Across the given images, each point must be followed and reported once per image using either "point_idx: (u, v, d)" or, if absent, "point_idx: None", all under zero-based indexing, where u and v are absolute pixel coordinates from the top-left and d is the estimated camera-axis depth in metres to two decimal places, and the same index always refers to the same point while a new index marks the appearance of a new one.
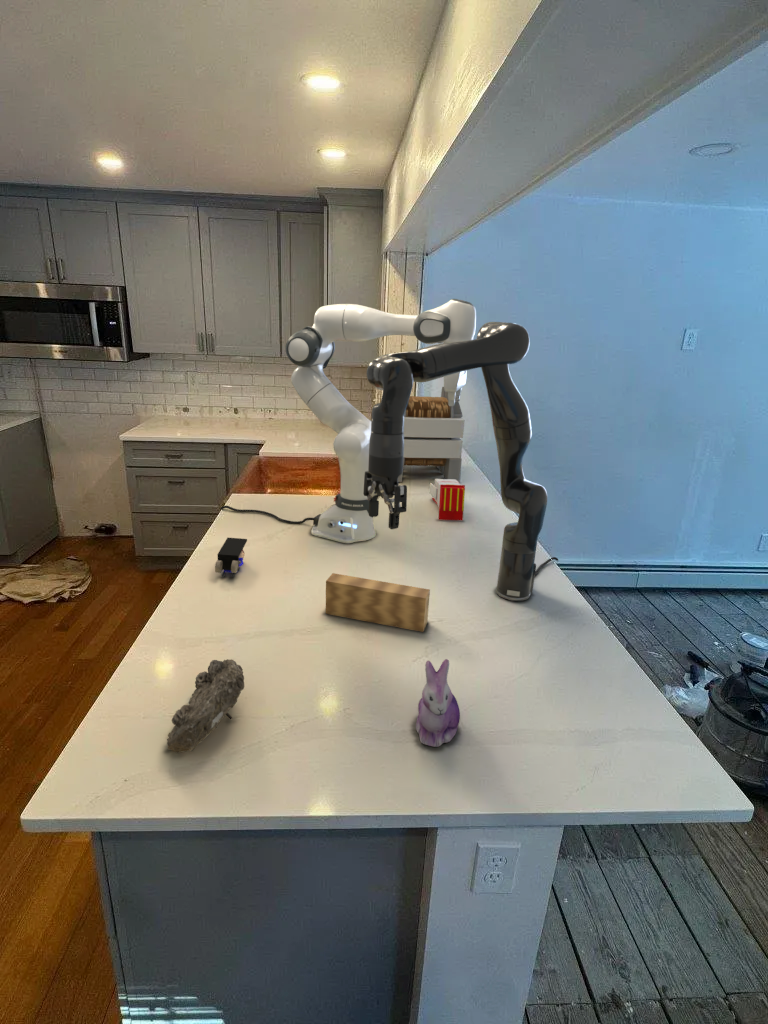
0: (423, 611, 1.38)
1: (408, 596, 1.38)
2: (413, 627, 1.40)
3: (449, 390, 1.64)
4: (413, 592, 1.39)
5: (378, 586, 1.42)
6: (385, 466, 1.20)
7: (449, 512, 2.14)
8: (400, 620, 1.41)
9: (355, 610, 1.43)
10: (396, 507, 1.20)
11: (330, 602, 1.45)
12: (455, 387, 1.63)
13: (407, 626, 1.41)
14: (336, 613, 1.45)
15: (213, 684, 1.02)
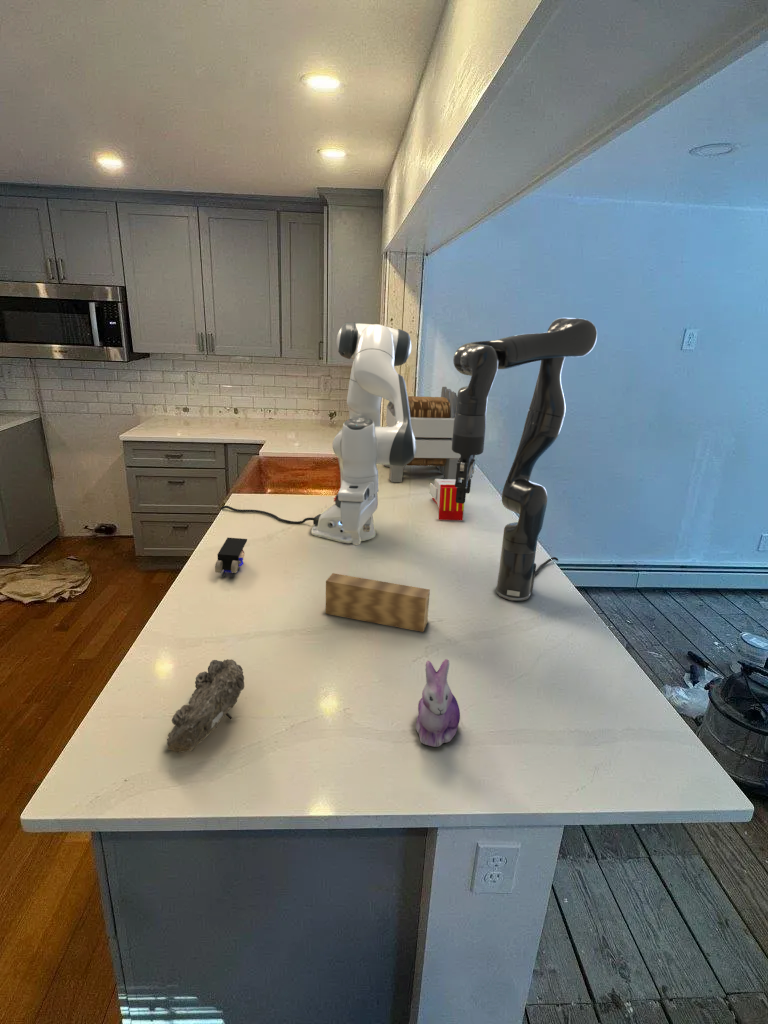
0: (423, 611, 1.38)
1: (408, 596, 1.38)
2: (413, 627, 1.40)
3: (349, 531, 1.33)
4: (413, 592, 1.39)
5: (378, 586, 1.42)
6: (457, 443, 1.32)
7: (449, 512, 2.14)
8: (400, 620, 1.41)
9: (355, 610, 1.43)
10: (455, 481, 1.31)
11: (330, 602, 1.45)
12: (356, 528, 1.33)
13: (407, 626, 1.41)
14: (336, 613, 1.45)
15: (213, 684, 1.02)
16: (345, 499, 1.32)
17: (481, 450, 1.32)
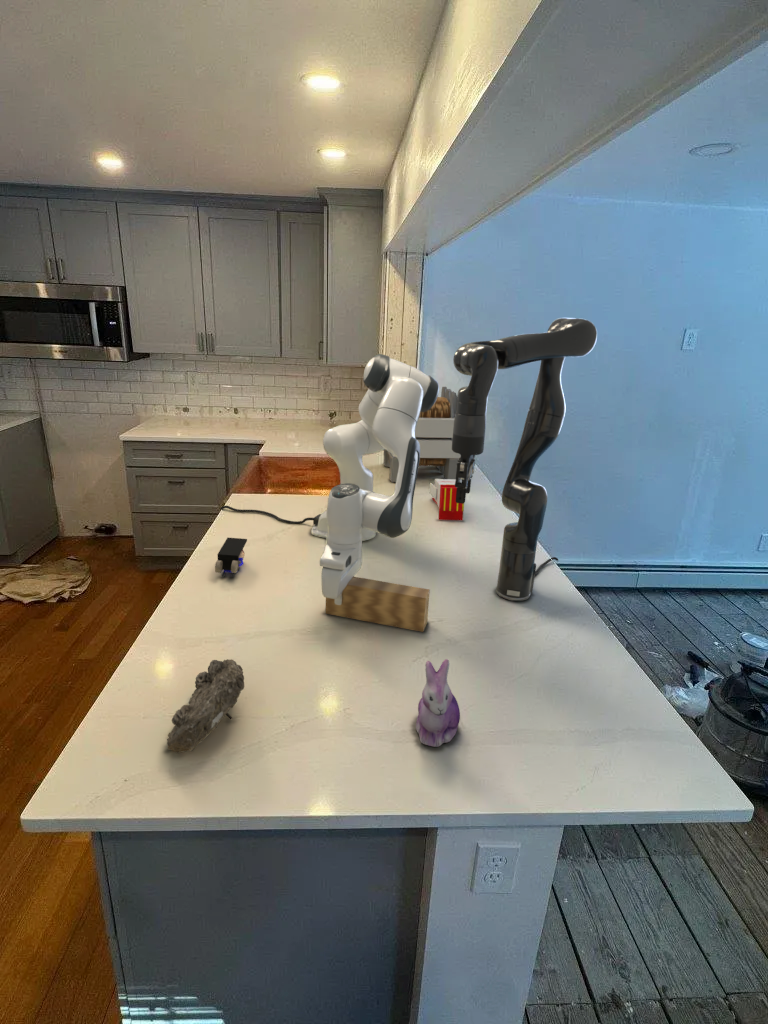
0: (423, 611, 1.38)
1: (408, 596, 1.38)
2: (413, 627, 1.40)
3: (329, 597, 1.35)
4: (413, 592, 1.39)
5: (377, 585, 1.42)
6: (457, 443, 1.32)
7: (449, 512, 2.14)
8: (400, 620, 1.41)
9: (355, 610, 1.43)
10: (455, 481, 1.31)
11: (330, 602, 1.45)
12: (335, 595, 1.34)
13: (407, 626, 1.41)
14: (336, 613, 1.45)
15: (213, 684, 1.02)
16: (326, 566, 1.34)
17: (481, 450, 1.32)
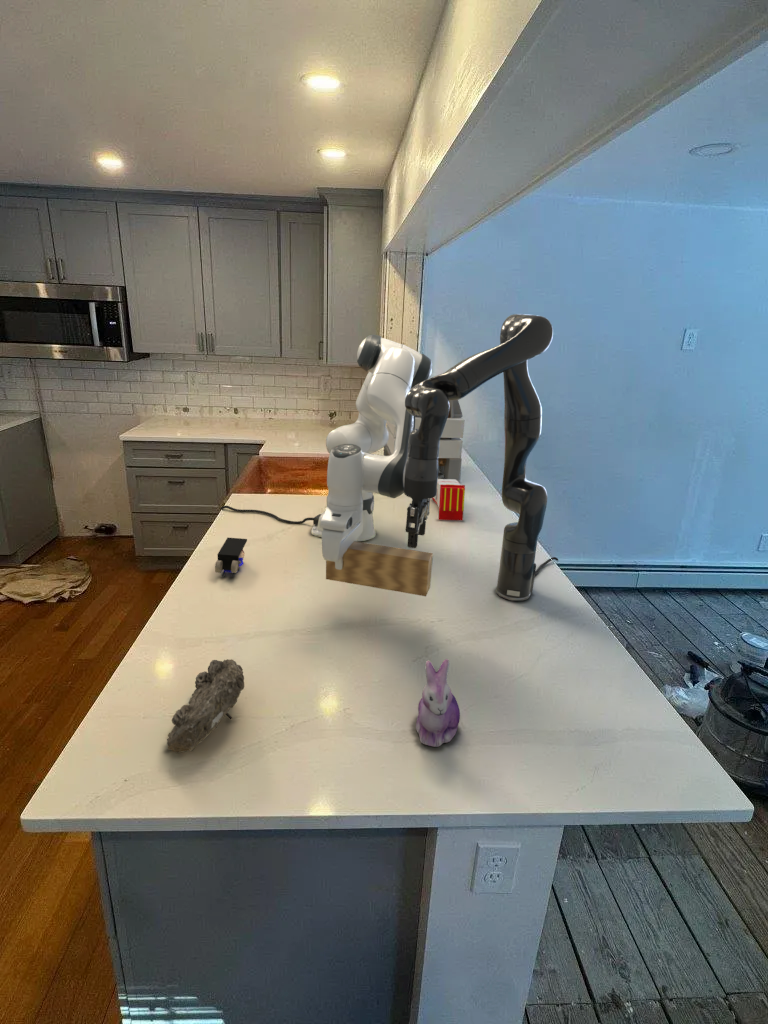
0: (426, 574, 1.35)
1: (410, 559, 1.35)
2: (416, 592, 1.37)
3: (329, 560, 1.32)
4: (415, 555, 1.36)
5: (379, 549, 1.38)
6: (408, 486, 1.28)
7: (449, 512, 2.14)
8: (402, 585, 1.37)
9: (356, 575, 1.40)
10: (406, 526, 1.27)
11: (330, 567, 1.41)
12: (335, 557, 1.31)
13: (409, 590, 1.37)
14: (337, 578, 1.42)
15: (213, 684, 1.02)
16: (327, 527, 1.31)
17: (433, 494, 1.29)
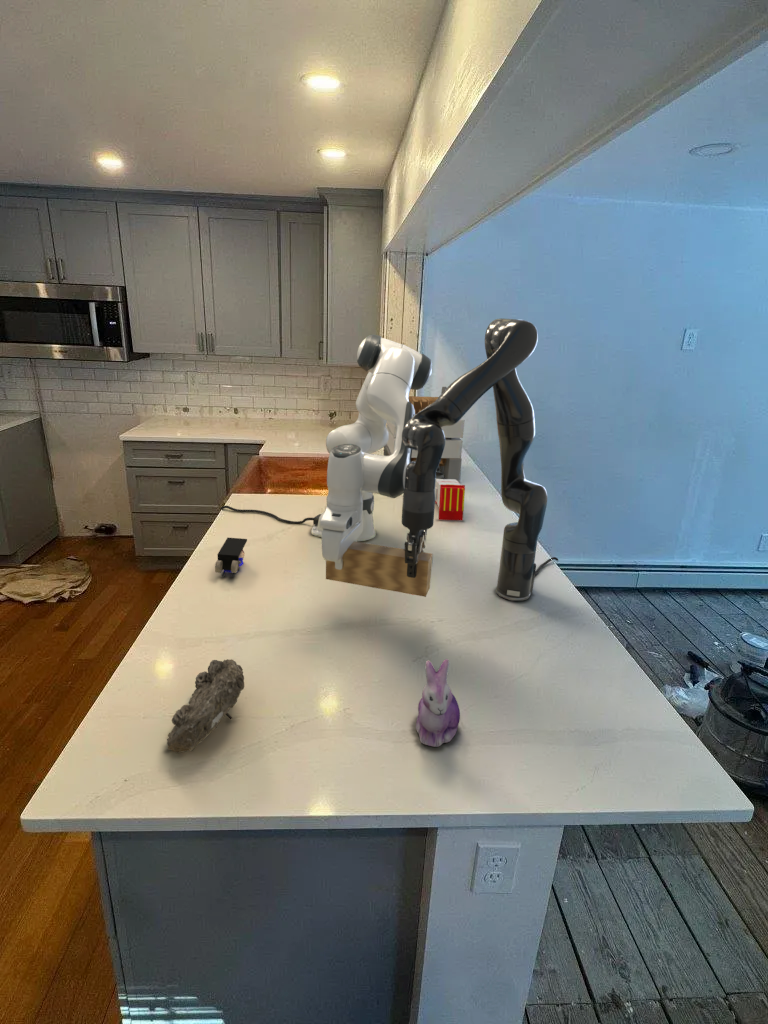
0: (425, 575, 1.35)
1: None
2: (415, 592, 1.37)
3: (329, 560, 1.32)
4: None
5: (379, 550, 1.38)
6: (406, 518, 1.31)
7: (449, 512, 2.14)
8: (402, 585, 1.37)
9: (356, 575, 1.40)
10: (405, 558, 1.31)
11: (330, 567, 1.41)
12: (335, 557, 1.31)
13: (409, 591, 1.37)
14: (337, 578, 1.42)
15: (213, 684, 1.02)
16: (327, 527, 1.31)
17: (430, 525, 1.31)
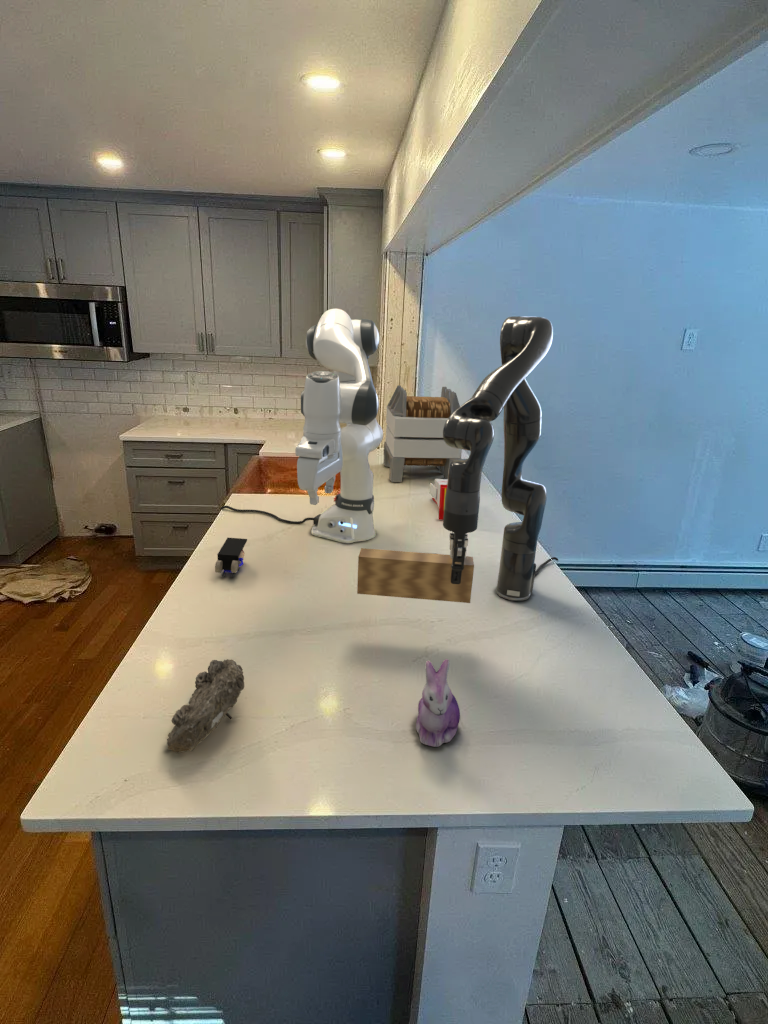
0: (470, 580, 1.26)
1: None
2: (459, 599, 1.28)
3: (305, 489, 1.28)
4: None
5: (417, 557, 1.28)
6: (451, 521, 1.22)
7: None
8: (444, 593, 1.28)
9: (393, 586, 1.29)
10: (452, 564, 1.22)
11: (363, 580, 1.29)
12: (311, 485, 1.27)
13: (452, 598, 1.28)
14: (370, 592, 1.30)
15: (213, 684, 1.02)
16: (302, 455, 1.27)
17: (476, 526, 1.23)
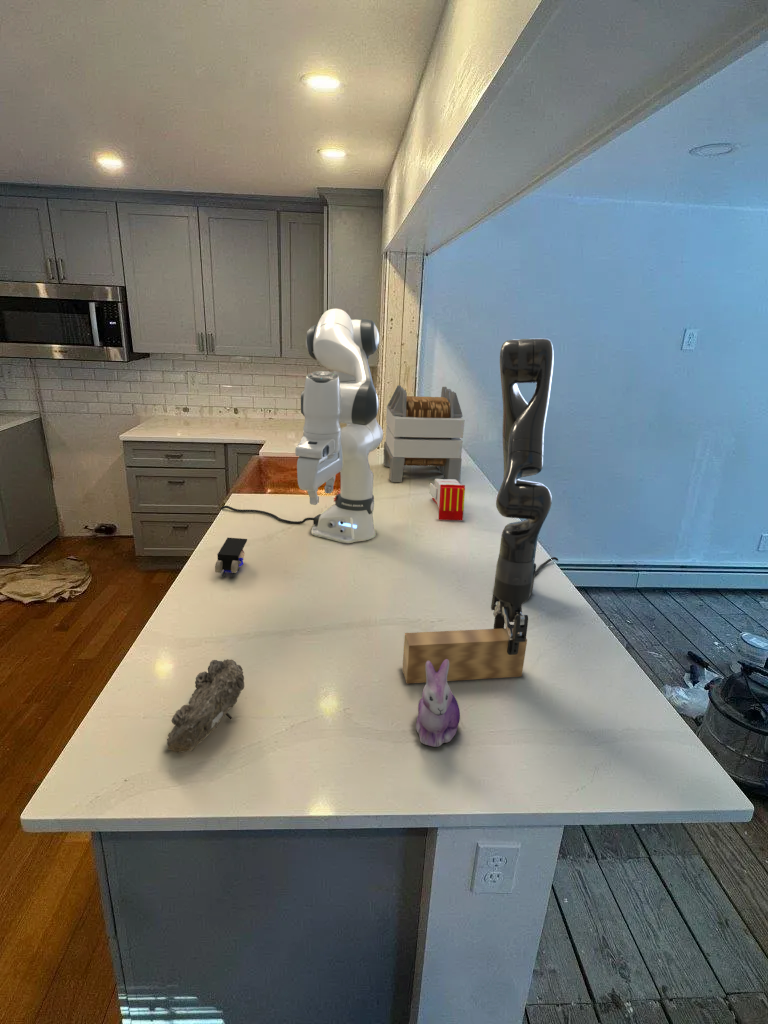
0: (523, 654, 1.22)
1: (507, 641, 1.21)
2: (511, 674, 1.24)
3: (305, 489, 1.28)
4: (507, 635, 1.22)
5: (467, 637, 1.21)
6: (508, 592, 1.16)
7: (449, 512, 2.14)
8: (497, 670, 1.23)
9: None
10: (514, 636, 1.15)
11: (413, 669, 1.19)
12: (311, 485, 1.27)
13: (504, 674, 1.23)
14: (421, 679, 1.20)
15: (213, 684, 1.02)
16: (302, 455, 1.27)
17: None
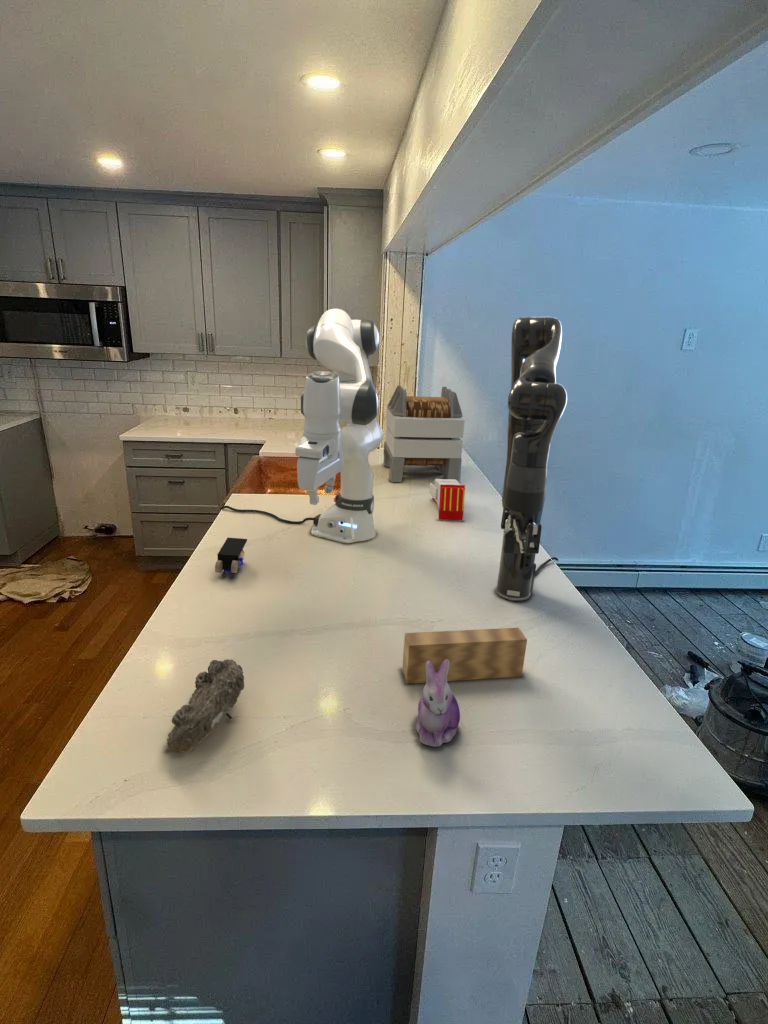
0: (523, 654, 1.22)
1: (507, 641, 1.21)
2: (511, 674, 1.24)
3: (305, 489, 1.28)
4: (507, 635, 1.22)
5: (467, 637, 1.21)
6: (520, 501, 1.09)
7: (449, 512, 2.14)
8: (497, 670, 1.23)
9: None
10: (526, 547, 1.08)
11: (413, 669, 1.19)
12: (311, 485, 1.27)
13: (504, 674, 1.23)
14: (421, 679, 1.20)
15: (213, 684, 1.02)
16: (302, 455, 1.27)
17: (542, 505, 1.12)
